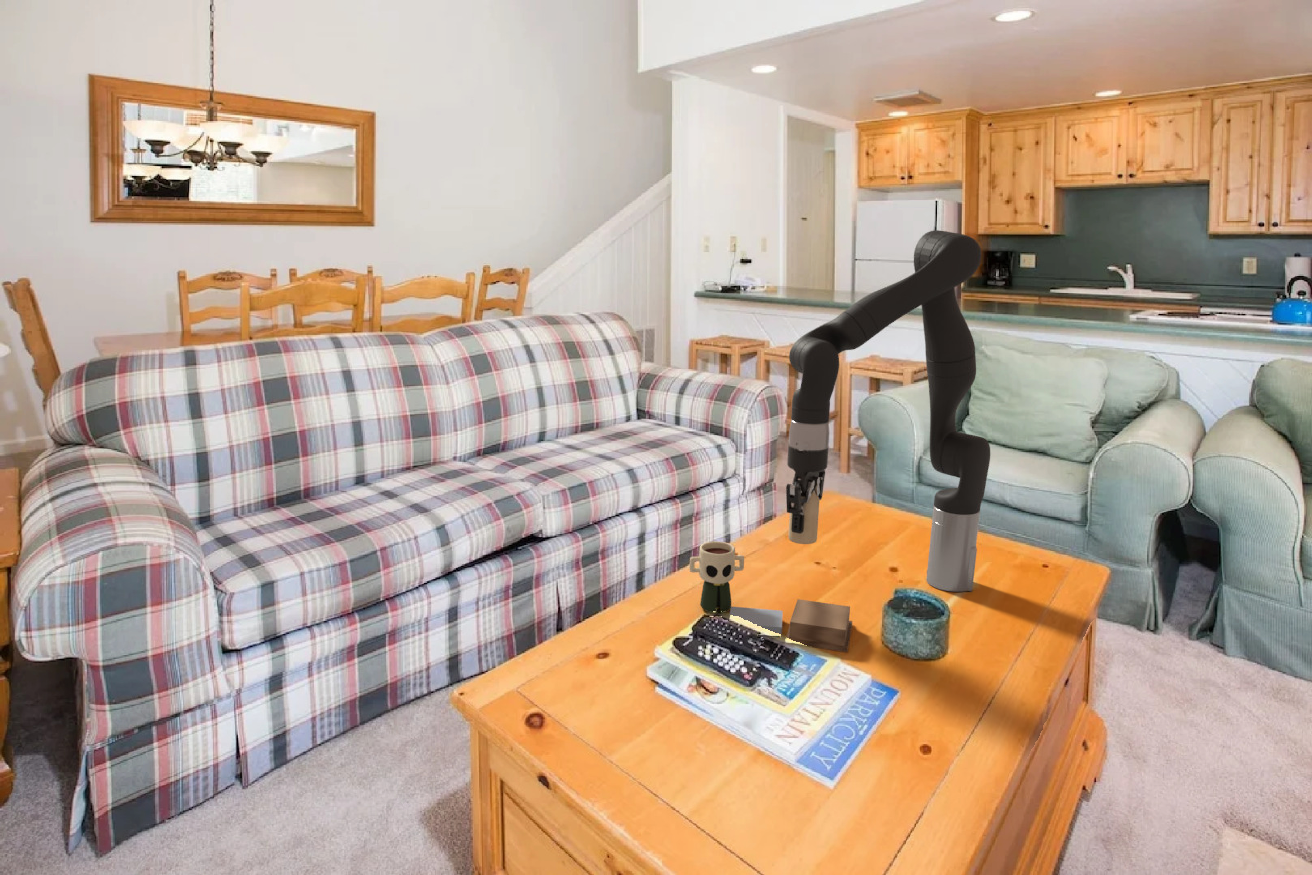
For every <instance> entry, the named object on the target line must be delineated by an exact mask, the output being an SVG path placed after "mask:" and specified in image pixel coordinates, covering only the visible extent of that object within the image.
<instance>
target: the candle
mask: <svg viewBox="0 0 1312 875" xmlns="http://www.w3.org/2000/svg"><path fill="white" fill-rule="evenodd" d="M801 498H805V497H803V496H801ZM791 505H792V503H791ZM801 505H802V502H801ZM819 514H820V500H819V497H818V496H817V495H816V494H815V492H814V491H813V492H812V493H811V497H810V501H809V503H808V504H806V508H805V513H804V531H803V532H802V533H801V534H799V533H795V532H792V530H791V527H792V513H789V516H788V517H789V520H788V521H789V522H788V540H789V541H790V542H792V543H794V544H798V545H811V544H814V543H817V540H818V530H819V516H820V515H819Z"/></svg>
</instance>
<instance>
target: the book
mask: <svg viewBox="0 0 1312 875" xmlns="http://www.w3.org/2000/svg"><path fill="white" fill-rule="evenodd" d="M729 610H730V611H729V615H733V616H739V617H741V618H743V619H744V620H748V621H750V622H752V623H753V624H757V626H761V627H762V628H765V629H768V630H770V631H773V632H775V633H779V634H782V633H783V612H784V611H783V610H780V609H779V610H777V609H769V608H768V609H767V608H766V609H765V608H755V607H742V606H732V605H731V609H729Z"/></svg>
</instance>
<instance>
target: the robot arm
mask: <svg viewBox="0 0 1312 875" xmlns="http://www.w3.org/2000/svg"><path fill="white" fill-rule="evenodd" d="M981 261H982V250H981V247H980V245H979V243H978V241H977V240H975V239H974V238H973V237H972V236H969V235H965V234H963V233H957V232H951V231H946V230H938V229H935V230H930V231H928V232H925V233H924V234H923V235H922V236H921V237H920V238H919V239H918V241H917V244H916V246H915V248H914V252H913V268H914V273H912V274H911V275H908V276H907V277H905V278H903V279H900V280H899V281H896V282H894V283H892V284H890V285H887V286H884V287H882V288H880V289H878V290H876V291H873V292H871V293H869V294H868V295H866V296H864V297H862V298H861V299H859V300H857V301H856V302H854V304H851V305H850V306H849V307H848V308H847V309H845V310H844V311H843V312H842V313H840V314H839V315H837V317H835V318H834V319H832V320H830V321H827V322H825V323H823V324H822V325H819V326H818V327H816V328H813V329H812V330H810V331H808V332H807V333H805V334H803V335H802V336H800V337H799V338H798V339H797V340H796V341H795V342H794V343H793V345H792V346H791V348H790V350H789V353H788V354H789V355H788V358H789V363H790V365H791V366H792V368H793V369H794V370H796V371H797V372H798V373H800V374H802V377H801V383H800V387H799V388H798V389H797V390H795V391H794V393H793V395H792V401H791V414H790V416H791V417H790V418H791V419H790V425H789V429H788V446H787V447H788V448H787V461H786V462H787V466H788V468H789V469H791V470H793V471H794V476H793V479H792V483H787V484H786V486H785V488H786V490H785V491H786V492H785V493H786V494H785V495H786V513H787V514H790V513H792V527H791V530H792V532H795V533H799V534H801V533H802V532H803V531H804V513H805V508H806V504H808V503H809V501H810V497H811V493H812V492H813V491H814V492H815V494H816V495H817V496H818V497H819V501H821V500H822V499H823V493H824V492H823V491H824V485H825V477H826V476H825V475H826V469H827V468H828V460H829V447H830V422H829V421H830V411H831V397H832V395H833V392H834V389H835V385H836V381H837V377H838V374H839V371H840V370H839V369H840V357H839V354H841V353H842V352H845V351H852V350H856V349H858V348H860V347H861V346H863V345H864V344H866V343H867V342H868V341H870V340H871V339H872V338H874V337H875V336H876V335H878V334H879V333H880V332H882V331H883V330H884V329H886V328H887V327H889V326H890V325H892V324H893V323H894V322H896V321H897V320H899V319H900V318H902V317H904V316H905V315H907V314H908V313H910V312H912V311H914V310H916V309H917V308H919V307H921V312H922V323H923V335H924V344H925V349H924V350H925V364H926V373H927V374H926V375H927V381H928V383H927V384H928V395H929V411H930V412H929V415H930V417H929V419H930V422H929V425H930V426H929V459H930V462H931V466H932V468H933V469H934V470H935V471H936V472H938V473H941V474H943V475H948V476H951V477H955V478H959V481H958V486H957V487H952V488H945V489H941V490H938V491H937V492H936V493H935V494H934V499H933V510H932V518H931V521H932V522H931V528H930V529H931V530H930V540H929V550H928V560H927V569H926V578H925V580H926V582H927V583H928V584H929V585H930V586H932V587H934V588H935V589H938V590H940V591H947V592H952V593H953V592H955V593H956V592H959V593H960V592H965V591H966V592H972V591H973V586H974V578H975V569H976V562H977V561H976V560H977V552H978V548H977V540H978V532H979V523H980V514H981V505H982V502H983V499H984V496H985V493H986V486H987V485H986V484H987V478H988V475H989V474H988V472H989V468H990V462H991V446H990V443H989V440H987V439H986V438H984V437H982V436H979V435H978V436H977V435H975V434H968V433H966V432H965V433H964V432H959V431H958V430H957V427H956V414H957V409H958V408H959V405H960V403H961V402H962V400H963V399H964V398H965V397H966V395H967V393H968V392H969V390H970V389H971V387H972V385H973V383H974V381H975V379H976V374H977V363H976V362H977V360H976V359H977V358H976V357H977V356H976V347H975V346H976V345H975V341H974V338H973V335H972V332H971V330H970V328H969V325H968V323H967V322H966V319H965V318H964V315H963V313H962V311H961V309H960V306H959V304H958V301H957V296H956V290H955V287H957V286H959V285H961V284H963V283H965V282H966V281H968V280H969V279H971V278H972V277H973V275H975V273H976V272H977V271H978V268H979V266H980V264H981ZM801 496H803V497H805V498H801ZM801 502H802V505H801ZM791 503H792V505H791Z"/></svg>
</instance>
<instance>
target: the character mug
mask: <svg viewBox="0 0 1312 875" xmlns="http://www.w3.org/2000/svg"><path fill="white" fill-rule="evenodd" d="M736 561H739V562H738V566H737V565H736ZM695 562H698V563H699V564H698V567H695ZM744 568H745V556H744V555H742V554H736V547H735V546H734V545H733V544H731V543H728V542H725V541H707V542H703V543H702V544H701V545H700V546H699V555H698V556H691V557H690V558H689V573H698V575H699V577H700V578H701V580H702V581H703V586H702V591H701V597H700V607H701V608H702V610H704V611H706V612H709V613H713V611H716V612H717V609H720V612H721V611H722V612H721V613H725V612H728V611H729V610H731V606H732V595H731V593H732V592H731V586H730V582H731V581H732V580H733V579H734V576H735V572H740V571H744Z"/></svg>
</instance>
